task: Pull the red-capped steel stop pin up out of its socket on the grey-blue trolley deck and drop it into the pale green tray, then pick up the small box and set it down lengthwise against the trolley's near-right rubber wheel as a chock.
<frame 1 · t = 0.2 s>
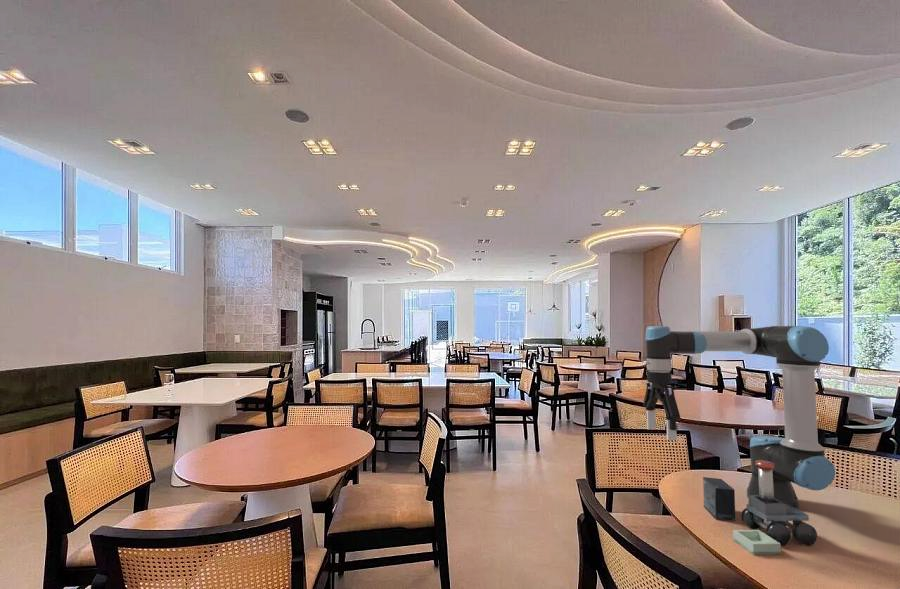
hand: (661, 434, 140), 28 cm above the table, fingers open, 13 cm apart
tray: (756, 547, 121), on the table
trolley: (778, 535, 128), on the table
small box: (719, 514, 142), on the table
pin: (767, 509, 128), point 8 cm above the table, touching trolley
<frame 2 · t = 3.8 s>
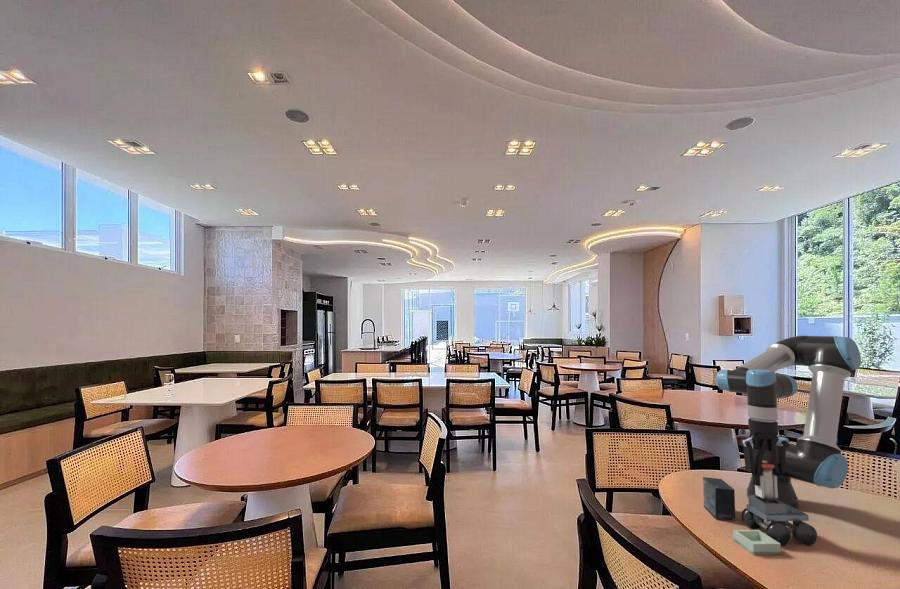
hand: (766, 495, 128), 12 cm above the table, fingers closed on pin, 3 cm apart
pin: (767, 509, 128), point 8 cm above the table, touching gripper
everything else where it was.
when the fingers open (2 cm above the table, at t = 18.5 s): pin stays where it is, resting on hand, tray.
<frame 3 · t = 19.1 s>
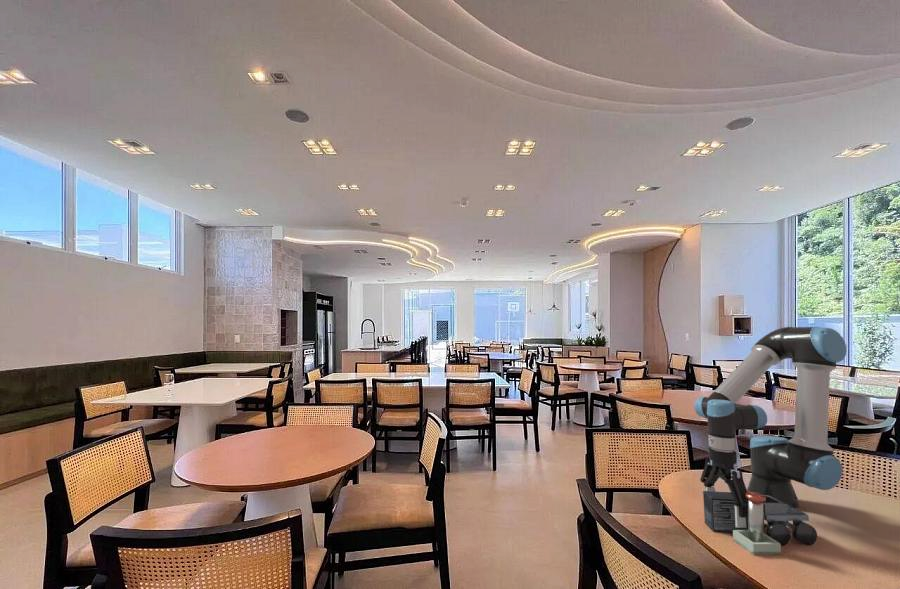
hand: (725, 516, 132), 3 cm above the table, fingers open, 13 cm apart
small box: (726, 529, 132), on the table
pin: (755, 544, 121), point 1 cm above the table, touching hand, tray
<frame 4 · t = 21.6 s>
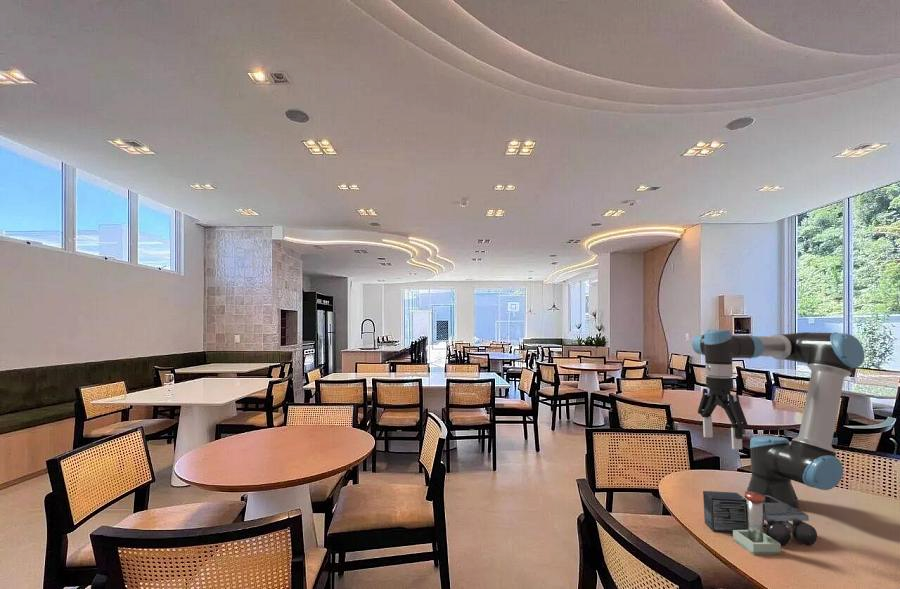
hand: (722, 442, 134), 27 cm above the table, fingers open, 13 cm apart
pin: (755, 544, 121), point 1 cm above the table, touching tray
everything else where it was.
at the end: small box 0.4 cm from the target spot, on the table; small box tilted 0°; pin 0.1 cm off-centre on the tray, point 0.8 cm above the tray's base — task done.
